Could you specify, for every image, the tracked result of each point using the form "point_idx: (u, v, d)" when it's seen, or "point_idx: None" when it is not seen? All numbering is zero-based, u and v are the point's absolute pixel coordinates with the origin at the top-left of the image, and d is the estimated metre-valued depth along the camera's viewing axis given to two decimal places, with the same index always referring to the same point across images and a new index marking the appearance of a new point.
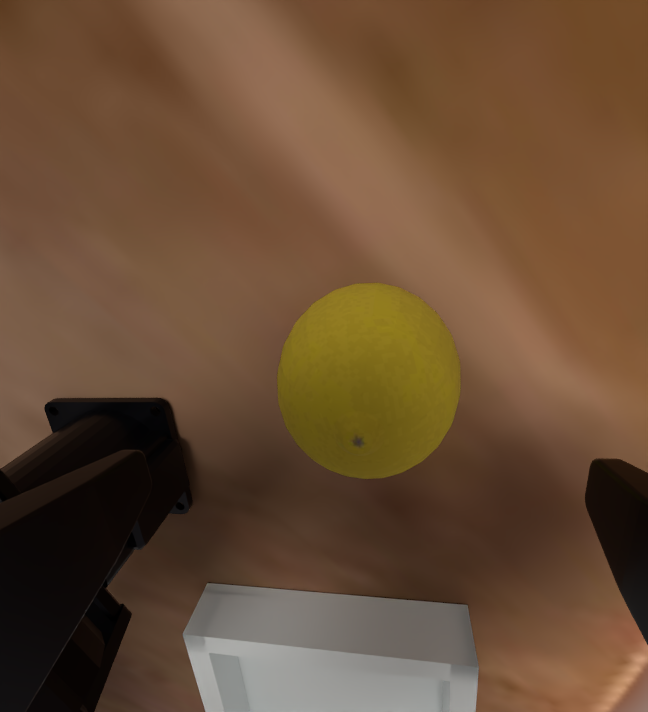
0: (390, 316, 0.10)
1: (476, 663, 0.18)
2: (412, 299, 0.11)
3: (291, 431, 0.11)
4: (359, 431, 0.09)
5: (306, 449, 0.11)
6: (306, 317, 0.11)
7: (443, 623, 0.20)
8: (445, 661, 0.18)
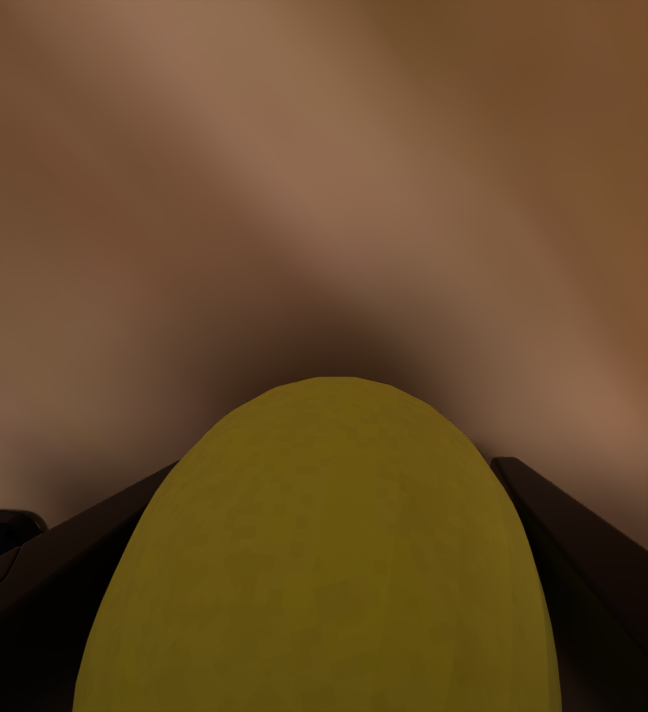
0: (369, 566, 0.03)
1: None
2: (431, 453, 0.05)
3: None
4: None
5: None
6: (163, 500, 0.04)
7: None
8: None
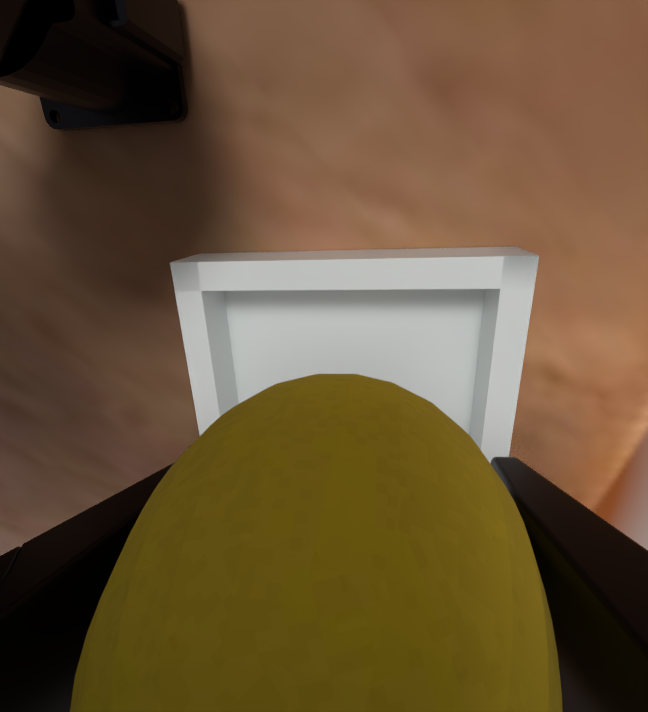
0: (368, 559, 0.03)
1: (535, 255, 0.15)
2: (431, 449, 0.05)
3: None
4: None
5: None
6: (163, 495, 0.04)
7: (489, 250, 0.17)
8: (497, 257, 0.15)
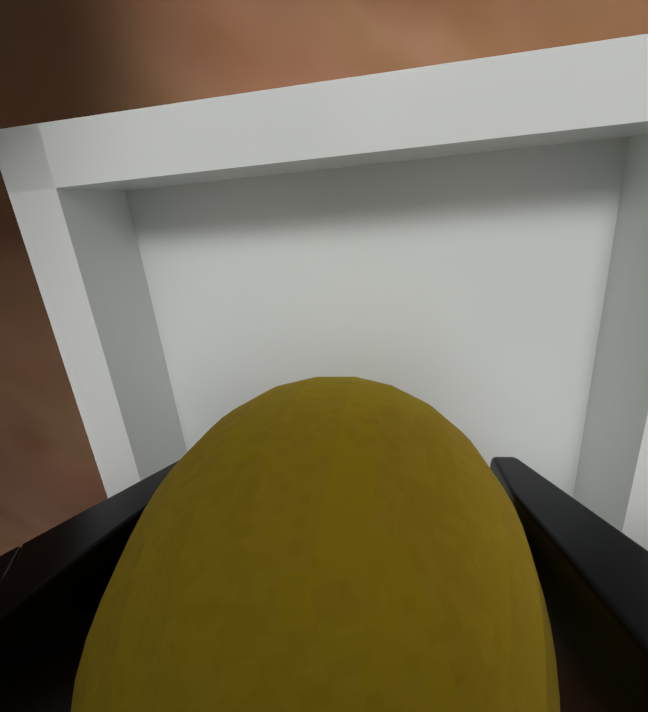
0: (367, 565, 0.03)
1: None
2: (430, 453, 0.05)
3: None
4: None
5: None
6: (163, 498, 0.04)
7: None
8: None
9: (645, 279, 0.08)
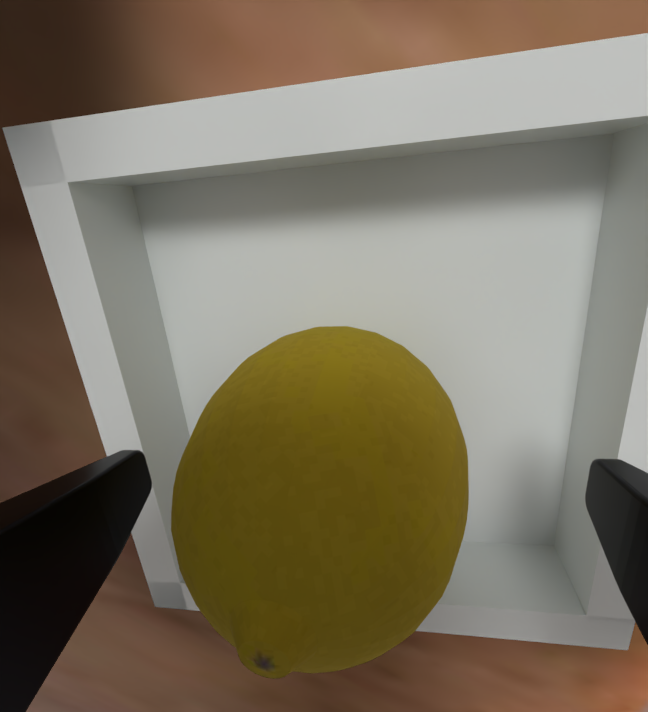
0: (339, 408, 0.06)
1: None
2: (390, 363, 0.07)
3: None
4: (265, 647, 0.05)
5: None
6: (220, 391, 0.07)
7: None
8: None
9: (627, 268, 0.09)
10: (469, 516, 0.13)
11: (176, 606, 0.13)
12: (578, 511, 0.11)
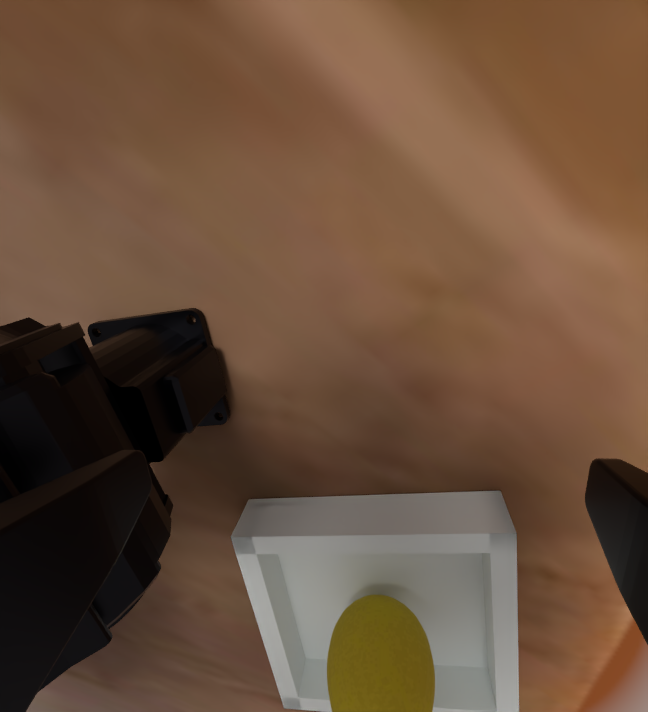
0: (389, 673, 0.18)
1: (514, 530, 0.19)
2: (401, 639, 0.20)
3: None
4: None
5: None
6: (341, 657, 0.20)
7: (478, 505, 0.21)
8: (483, 532, 0.19)
9: (488, 579, 0.21)
10: (442, 654, 0.26)
11: (295, 708, 0.26)
12: (490, 660, 0.24)
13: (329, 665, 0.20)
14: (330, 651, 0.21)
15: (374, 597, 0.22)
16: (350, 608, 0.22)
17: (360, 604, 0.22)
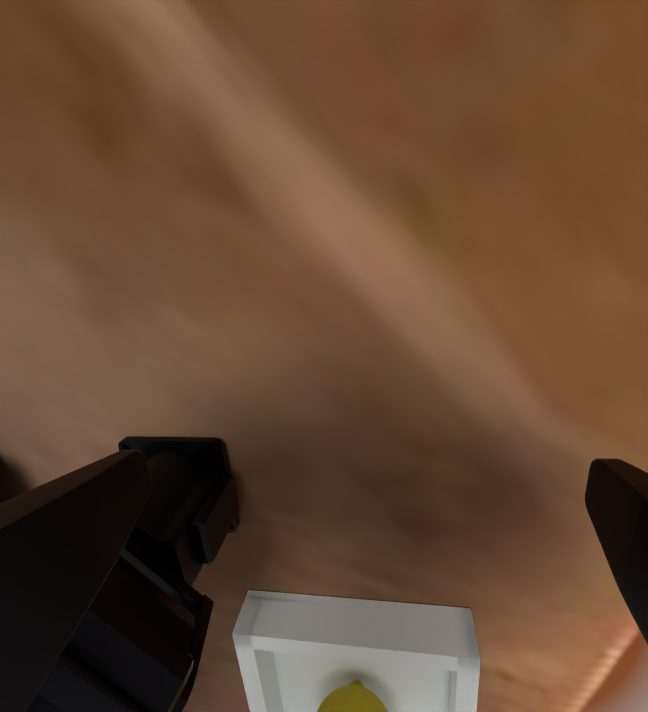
0: None
1: (478, 656, 0.22)
2: None
3: None
4: None
5: None
6: None
7: (450, 623, 0.24)
8: (453, 655, 0.22)
9: (453, 685, 0.24)
10: None
11: None
12: None
13: None
14: None
15: (352, 691, 0.25)
16: (330, 700, 0.25)
17: (339, 698, 0.25)
